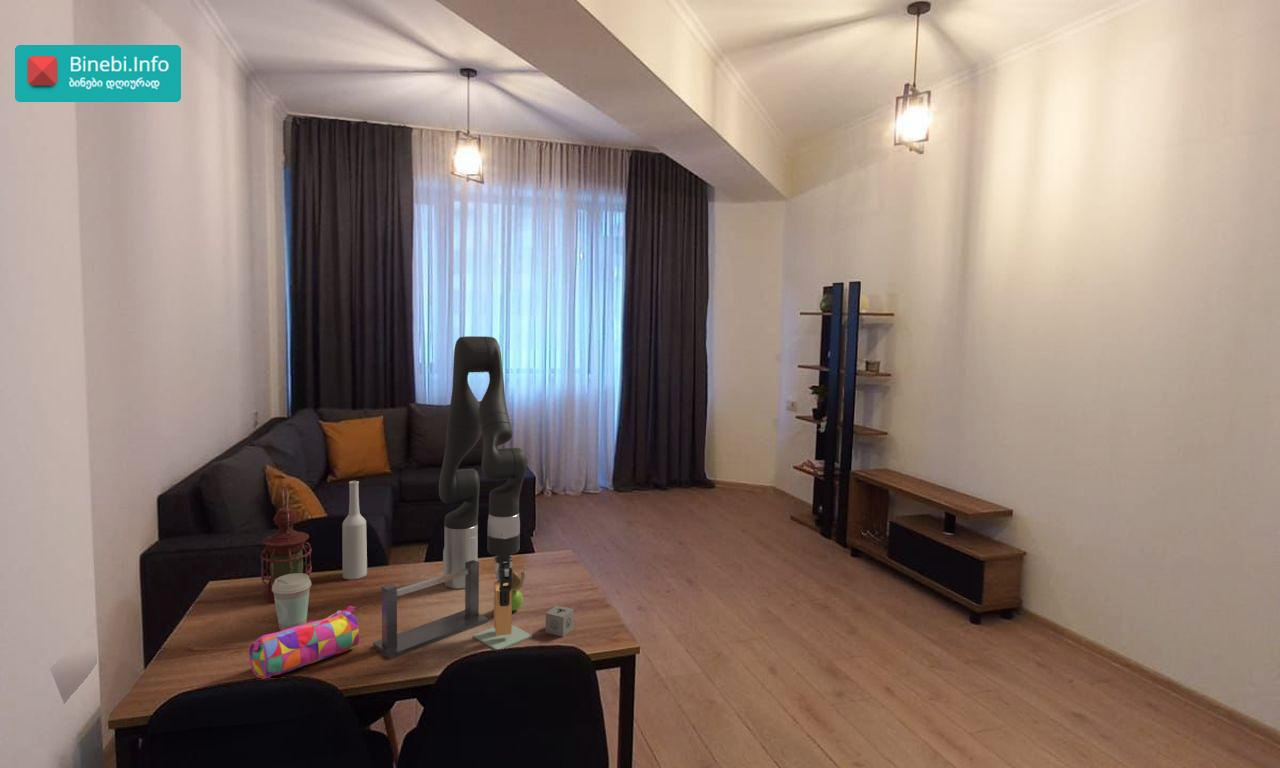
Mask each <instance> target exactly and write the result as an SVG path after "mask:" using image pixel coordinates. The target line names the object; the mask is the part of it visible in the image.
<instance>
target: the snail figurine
mask: <svg viewBox="0 0 1280 768" xmlns="http://www.w3.org/2000/svg"><path fill="white" fill-rule="evenodd" d="M526 571H527V566H524V567H523V570H522V571H520V575H519V573H517V572H515V571H512V585H511V587H512V612H513V611H517V610H518V609H519V608H520V607H522V604H523V601H524V597H523V594H522V592H521V591H519V590H520V589H522V588H523V585H525V584H524V583H525V580H526V576H527V572H526Z"/></svg>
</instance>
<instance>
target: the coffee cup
mask: <svg viewBox="0 0 1280 768" xmlns="http://www.w3.org/2000/svg"><path fill="white" fill-rule="evenodd" d="M311 587H312V581H311V579H310V575H309V576H308V574H302V573H294V574H287V575H284V576H281V577H278V578H277V579H276V580H275V581H274V584H273V586H272V591H273V592H274V599H275V610H276V611H275V612H276V616H277V621H278V623H277V624H278V629H279V630H280V631H283V630H286V629H289V628H293V627H297V626H300V625H304V624H307V619H308V618H307V617H308V611H309V609H308V608H309V601H310V600H309V599H310V589H311Z"/></svg>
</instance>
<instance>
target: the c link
mask: <svg viewBox="0 0 1280 768" xmlns="http://www.w3.org/2000/svg"><path fill="white" fill-rule="evenodd" d="M505 585H508V583H504V584H503V586H505ZM493 587H494V588H493V627H494V629H495V633H496V636H500V635H508V634H511V630H512V625H513V624H512V621H513V617H512V614H513V611H512V589H511V591H509V605H508V606H500V590H499V582H497V581H496V582H495V581H494V582H493Z"/></svg>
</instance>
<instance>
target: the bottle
mask: <svg viewBox="0 0 1280 768" xmlns="http://www.w3.org/2000/svg"><path fill="white" fill-rule="evenodd" d="M359 483H360V481H358V480H351V481H349V482H348V484H349V485H348V486H349V488H348V489H349V503H348V505H349V506H348V515H347V516H346V517H345V519H344V520H343V522H342V524H341V525H342V527H341V528H342V529H341V530H342V533H341V534H342V536H341V537H342V546H341V547H342V551H341V552H342V556H341V557H342V578H343V579H345V580H358V579H362V578H364V577H366V576H367V575H368V556H367V554H368V552H367V548H368V546H367V545H368V544H367V543H368V541H367V520H366V519H365V518H364V517H363V516H362V514H361V513H360V498H359V497H360V496H359V493H360V491H359Z"/></svg>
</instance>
